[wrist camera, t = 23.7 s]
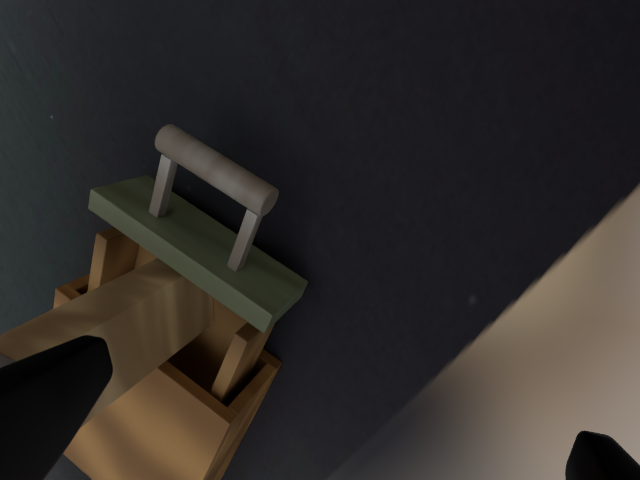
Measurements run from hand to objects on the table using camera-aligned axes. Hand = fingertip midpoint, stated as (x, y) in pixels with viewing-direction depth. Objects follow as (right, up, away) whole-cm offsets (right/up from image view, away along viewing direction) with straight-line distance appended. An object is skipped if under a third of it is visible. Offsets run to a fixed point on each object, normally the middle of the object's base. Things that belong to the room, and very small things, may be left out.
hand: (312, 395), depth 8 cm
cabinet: (-10, -7, +22) cm, 25 cm away
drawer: (-7, 0, +17) cm, 18 cm away
